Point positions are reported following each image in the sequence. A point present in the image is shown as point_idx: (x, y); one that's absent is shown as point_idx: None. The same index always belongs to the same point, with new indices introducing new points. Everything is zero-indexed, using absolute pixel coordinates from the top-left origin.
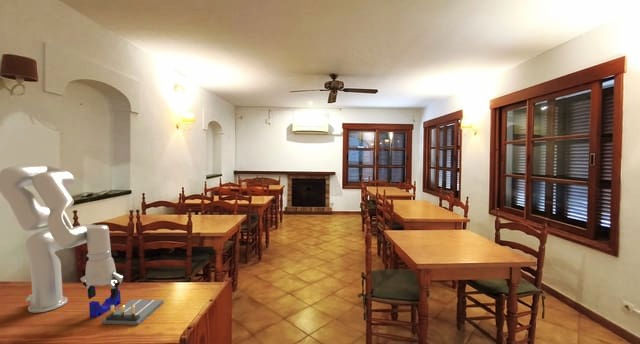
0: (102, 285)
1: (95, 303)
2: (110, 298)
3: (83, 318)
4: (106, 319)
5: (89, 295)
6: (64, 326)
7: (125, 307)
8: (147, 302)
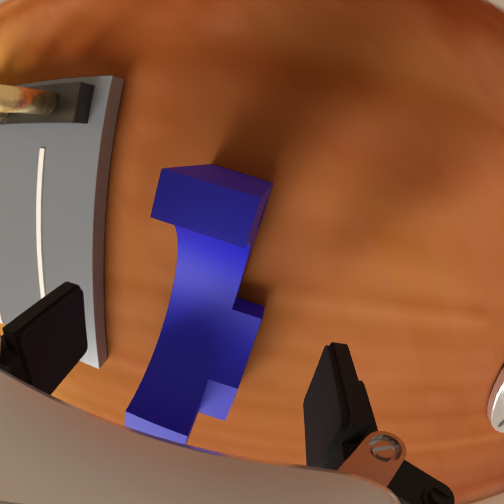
0: (35, 388)
1: (166, 169)
2: (197, 382)
3: (316, 170)
4: (89, 85)
5: (338, 366)
6: (389, 69)
7: (66, 263)
8: (7, 302)
